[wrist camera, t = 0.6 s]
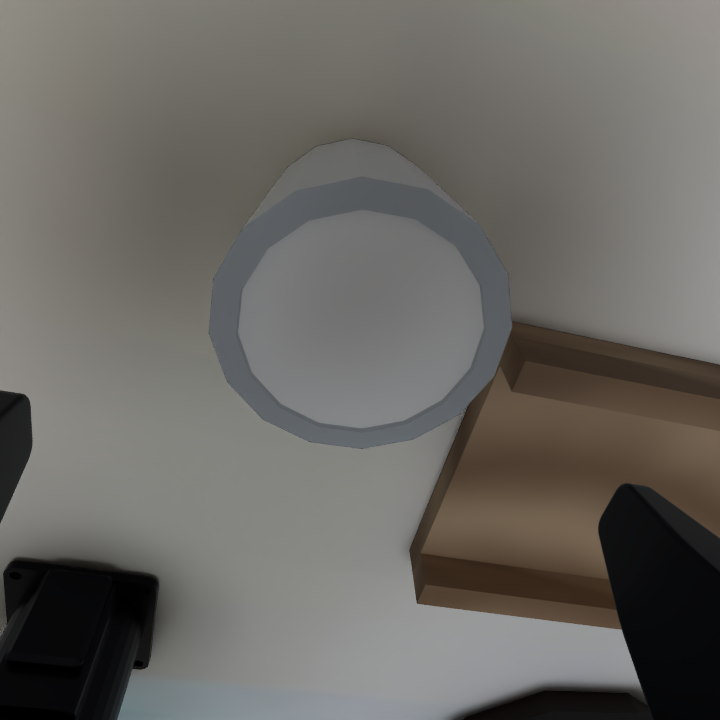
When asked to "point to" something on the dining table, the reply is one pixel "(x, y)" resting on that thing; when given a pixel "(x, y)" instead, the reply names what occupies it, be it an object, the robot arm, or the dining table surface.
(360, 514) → the dining table surface
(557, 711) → the black ribbed pot
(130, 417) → the dining table surface
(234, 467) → the dining table surface
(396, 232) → the shot glass
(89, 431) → the dining table surface
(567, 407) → the tray
